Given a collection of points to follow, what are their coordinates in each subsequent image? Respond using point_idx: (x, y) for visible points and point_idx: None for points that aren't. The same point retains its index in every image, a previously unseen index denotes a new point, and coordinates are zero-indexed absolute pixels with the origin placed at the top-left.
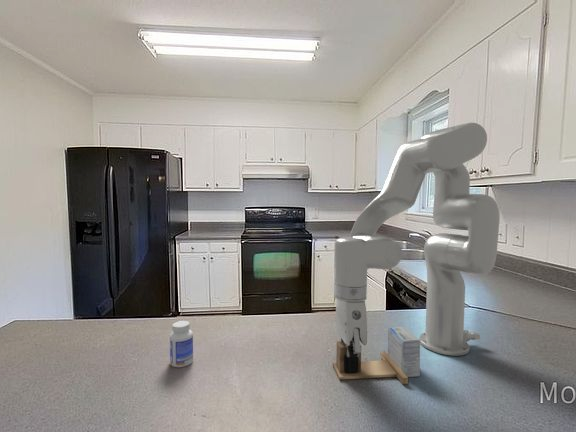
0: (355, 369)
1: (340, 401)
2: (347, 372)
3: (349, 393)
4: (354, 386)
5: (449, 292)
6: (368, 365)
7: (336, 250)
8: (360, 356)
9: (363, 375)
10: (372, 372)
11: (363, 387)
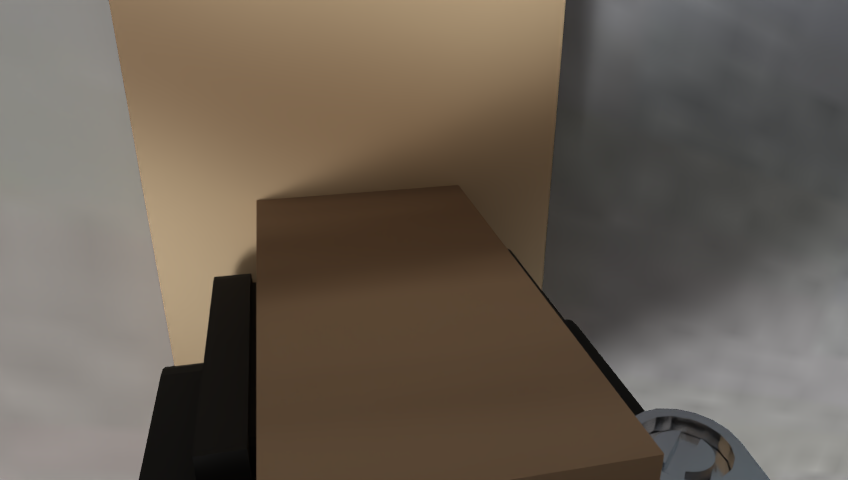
0: (572, 324)
1: (800, 440)
2: None
3: (731, 358)
4: (643, 292)
5: None
6: None
7: None
8: (543, 315)
9: (549, 171)
10: (491, 2)
11: (682, 201)
